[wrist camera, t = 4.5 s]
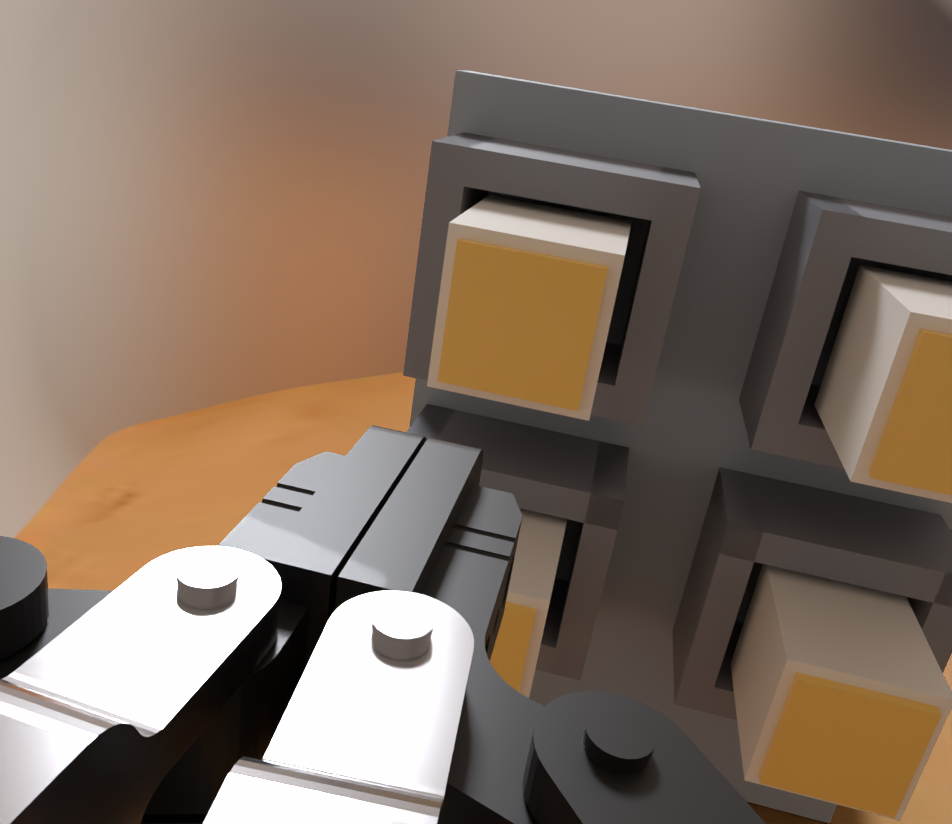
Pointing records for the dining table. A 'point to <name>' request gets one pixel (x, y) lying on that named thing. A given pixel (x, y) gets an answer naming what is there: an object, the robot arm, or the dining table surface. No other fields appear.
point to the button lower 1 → (528, 599)
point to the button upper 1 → (527, 304)
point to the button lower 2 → (836, 692)
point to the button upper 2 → (893, 384)
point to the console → (692, 383)
